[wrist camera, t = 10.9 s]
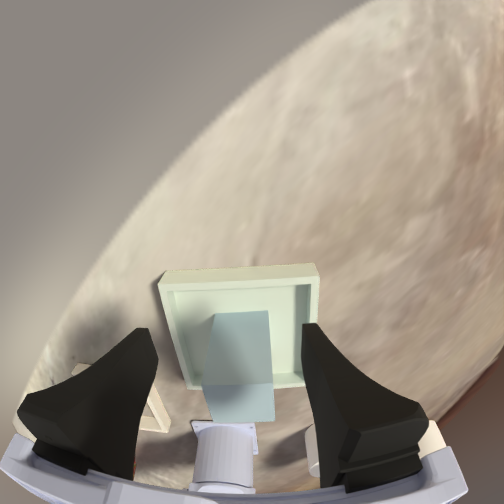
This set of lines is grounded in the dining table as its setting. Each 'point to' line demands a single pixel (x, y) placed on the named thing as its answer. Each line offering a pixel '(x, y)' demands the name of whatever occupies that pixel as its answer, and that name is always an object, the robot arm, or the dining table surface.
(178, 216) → the dining table surface
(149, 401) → the holder
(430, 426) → the beverage can
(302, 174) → the dining table surface
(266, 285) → the tray
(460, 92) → the dining table surface
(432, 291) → the dining table surface
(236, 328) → the block
